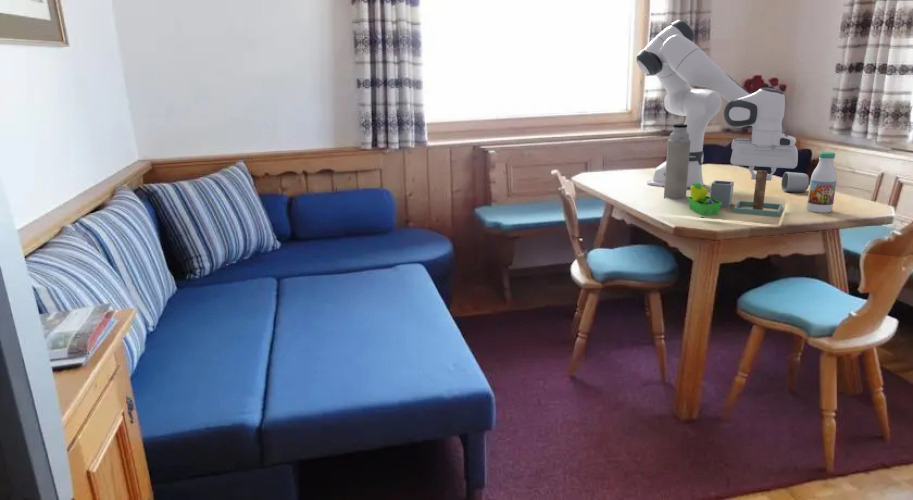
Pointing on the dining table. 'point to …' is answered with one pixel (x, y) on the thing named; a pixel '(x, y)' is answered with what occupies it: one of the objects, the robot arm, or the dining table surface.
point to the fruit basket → (702, 201)
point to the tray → (756, 211)
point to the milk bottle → (822, 185)
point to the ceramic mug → (795, 182)
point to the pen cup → (722, 192)
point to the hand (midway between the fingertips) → (761, 179)
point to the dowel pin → (759, 190)
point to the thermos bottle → (677, 163)
